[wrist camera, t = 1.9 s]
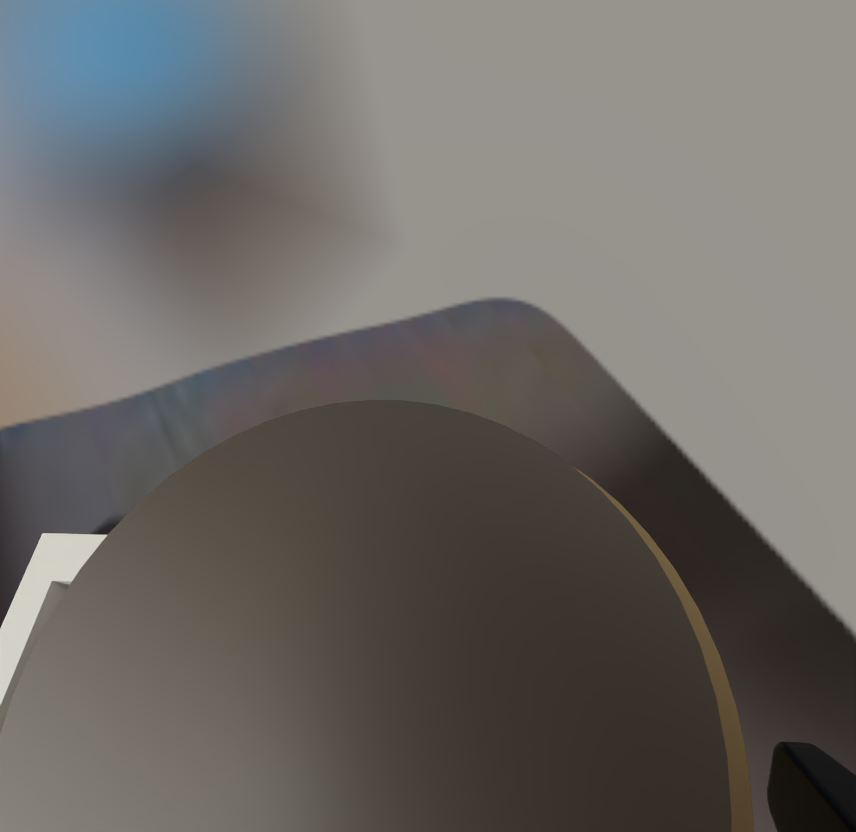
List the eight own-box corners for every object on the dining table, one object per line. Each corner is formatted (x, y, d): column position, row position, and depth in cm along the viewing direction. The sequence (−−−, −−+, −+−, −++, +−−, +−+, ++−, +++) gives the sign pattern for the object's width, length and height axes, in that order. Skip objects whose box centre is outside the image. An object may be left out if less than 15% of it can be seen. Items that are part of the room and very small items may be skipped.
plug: (511, 890, 13) (830, 2364, 1) (333, 792, 14) (-360, 1023, 3) (566, 680, 15) (861, 462, 3) (407, 612, 17) (229, 288, 5)
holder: (650, 1008, 12) (671, 1040, 11) (-86, 935, 13) (-144, 955, 12) (597, 560, 17) (607, 545, 16) (72, 547, 19) (42, 533, 17)
